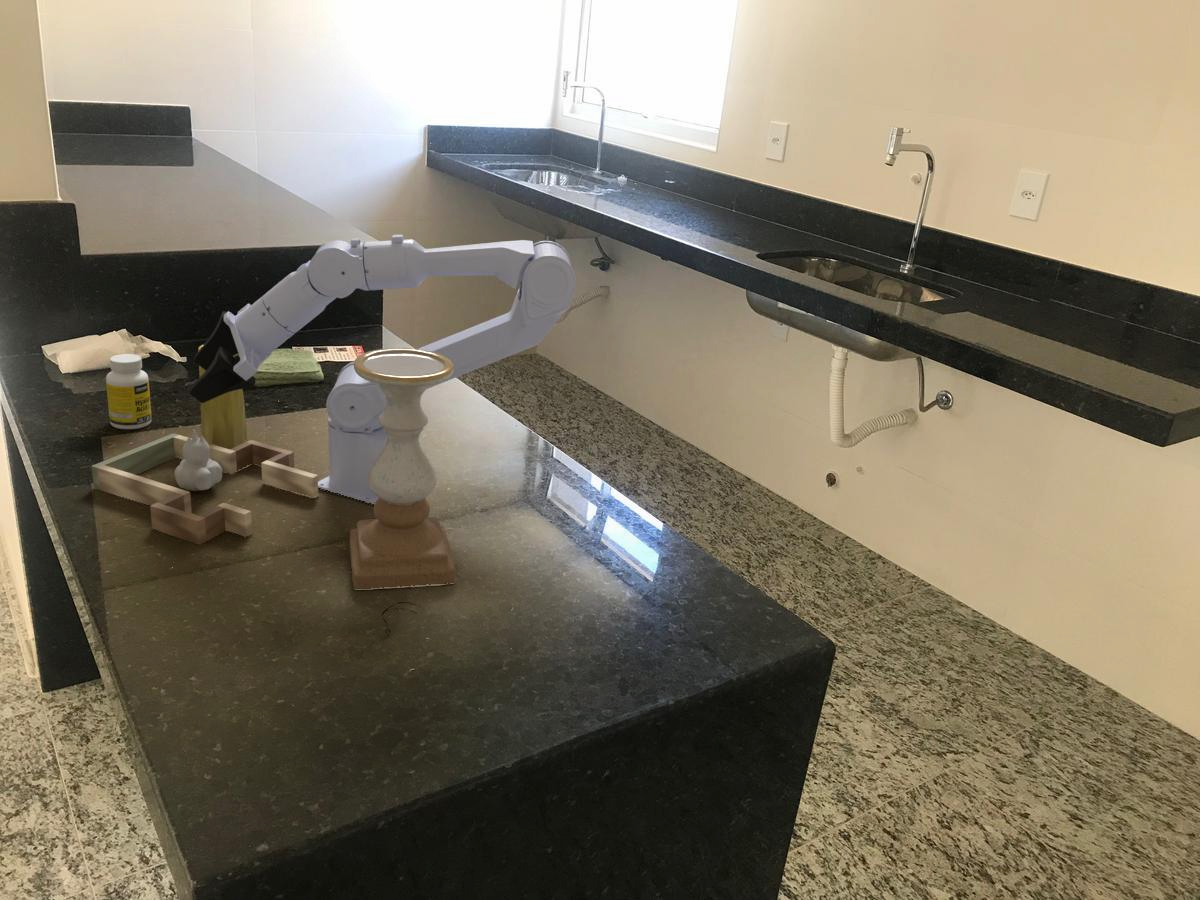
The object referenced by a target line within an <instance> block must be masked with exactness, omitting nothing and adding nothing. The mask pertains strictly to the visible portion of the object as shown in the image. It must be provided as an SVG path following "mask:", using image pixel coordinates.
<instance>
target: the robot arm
mask: <svg viewBox="0 0 1200 900" xmlns="http://www.w3.org/2000/svg"><path fill="white" fill-rule="evenodd" d="M390 239H391V240H375V241H373V240H372V241H361V239H360V237H358V238H357V237H356V238H351V239H350V242H349V243H348V241H345V240H344V241H343V240H340V239H339V240H338V239H336V240H331V241H328V242H326V243H324V242H323V243H321V245H320V246H319V247H318V249H317V251H316V252H315V254H314V255H313V257H312V258H311V260H310V259H309V260H308V261H307V262H306V263H302V264H301V265H300V266H299V267H298V268H297V269H296V270H295V271H292V272H291V273H289V274H288V275H286V276H285V277H284V278H282V280H280V281H278V282H277V284H275V285H274V286H273V287H272V288H271V289H269V290H268V291H267V292H266V293H265V294H263V295H262V296H261V297H260V298H258V299H257V300H256V301H254V302H253V304H250V303H247V304H246V305H245V306H244V307H242V308H241V309H240V310H238V311H237V314H236V315H234V314H233V313H232V312H230V311H224V310H223V311H222V312H221V313H220V317H219V319H218V322H217V324H216V326H215V328H214V330H213V331H212V333H211V335H210V336H209V337H208V339H206V341H205V343H204V345H203V344H202V345H203V346H202V348H201V349H200V350H199V352H198V351H197V353H196V354H195V355H194V358H193V362H194V363H195V364H197V365H198V367H199V366H201V367H202V368H203V369H204V370H206V372H205V373H204V374H203V375H202V376H201V377H200V376H199V378H198V379H197V380H196V381H195V382H194V383H193V384H192V386H191V387H190V389H189V393H188V394H189V395H191V396H192V397H193V398H195V399H196V400H197V401H198V402H201V403H204V402H207V401H209V400H211V399H214V398H216V397H218V396H220V395H223V394H225V393H228V392H231V391H234V390H239V389H252V388H253V387H255V386H254V385H255V379H256V378H255V377H254V376H253V375H254V374H255V373H257V372H258V368H259V366H260V365H261V364H262V363H263V362H264V361H265V360H266V359H267V358H268V357H269V356H270V355H271V353H272V351H274V350H275V349H278V347H280V346H282V344H284V343H286V341H288V339H290V338H292V337H293V336H294V335H295V334H296V333H298V332H299V331H300V330H301V329H303V328H304V327H305V326H306V325H308V323H310V322H311V321H313V320H314V319H315V318H316V317H317V316H319V315H320V314H321V313H323V312H324V311H325V309H326V307H327V306H328V305H329V304H330V303H332V302H333V301H334V300H336V299H337V298H338V299H343V298H347V297H349V296H350V295H352V293H354V292H355V290H357V289H359V290H363V291H380V290H382V291H383V290H397V289H412V288H413V289H414V288H419V286H421V285H422V283H423V282H424V281H425V280H426V279H427V278H428V277H461V276H462V277H464V276H465V277H466V276H467V277H468V276H472V277H473V276H474V277H475V276H477V277H478V276H493V277H496V278H497V279H498V280H500V281H501V282H502V283H505V284H506V285H507V286H508V287H510V288H512V289H514V290H517V292H516V295H515V298H514V301H513V303H512V306H511V308H510V311H508V312H506V313H504V314H501V315H499V316H497V317H493V318H491V319H489V320H486V321H484V322H481V323H479V324H476V325H474V326H472V327H469V328H467V329H464V330H462V331H459V332H456V333H454V334H451V335H449V336H446V337H443V338H441V339H440V340H436V341H434V342H431V343H429V344H426V345H424V346H422V347H419V348H418V349H420V350H426V351H431V352H435V353H438V354H441V355H443V356H445V357H447V358H448V359H449V360H450V361H451V362H452V363H453V367H454V370H453V373H452V375H451V376H450V377H449V378H448V379H447V380H445V381H443V382H440V383H437V384H433V385H429V386H428V388H427V389H426V390H428V389H431V388H433V387H435V386H438V385H440V384H443V383H445V382H448V381H450V380H454V379H456V378H458V377H460V376H463V375H466V374H469V373H471V372H473V371H476V370H478V369H480V368H483V367H485V366H488V365H490V364H494V363H496V362H498V361H501V360H503V359H506V358H509V357H510V356H513V355H516V354H519V353H522V352H523V351H526V350H528V349H531V348H534V347H536V346H537V345H539V344H541V343H542V342H543V340H544V339H545V337H546V336H547V335H548V333H549V332H550V331H551V329H552V328H553V327H554V326H555V324H556V323H557V322H558V320H559V319H560V317H561V316H562V315H563V314H564V313H566V311H568V310H569V309H570V307H571V305H572V301H573V297H574V293H575V289H576V285H577V280H576V273H575V270H574V269H573V267H572V261H571V257H570V255H569V253H568V251H567V250H566V249H565V248H564V246H562V245H561V244H559V243H558V242H555V241H553V240H541V241H538V242H533V240H526V239H520V240H508V241H503V240H502V241H496V242H495V241H494V242H486V243H474V244H466V245H465V244H464V245H454V246H444V247H435V248H433V247H432V248H425V247H423V246H422V245H421V244H420V243H418V241H416V240H414V239H412V238H408V239H407V238H406V239H404V235H403V234H393V235H392V236H391V238H390ZM518 281H519V288H518V289H517V286H518ZM238 353H239V356H238V355H237V356H235V357H234V355H236V354H238ZM201 403H200V404H201ZM325 403H326V404H325V405H326V407H325V408H326V413H327V415H328V419H327V423H328V427H327V428H328V475H327V477H324V478H323V479H321V480H318V487H319V488H322V489H325V490H328V491H331V492H330V493H332V492H334V493H333V494H335V493H339V494H341V495H340V496H342V495H344V496H343V497H345V496H347V497H346V498H349V497H352V498H354V499H353V500H356V499H357V500H356V501H359V500H361V501H360V502H362V501H365V502H364V503H366V502H367V503H366V504H369V503H371V504H370V505H373V504H375V502H376V501H377V500H378V499H379V498H378V497H377V496H376V495H375V494H374V493H373V492H372V491H371V489H370V487H369V484H368V475H369V471H370V469H371V467H372V465H373V463H374V461H375V460H376V459H377V457H378V456H379V455H380V453H381V452H382V450H383V449H384V447H385V445H386V442H387V435H386V432H385V431H384V430H383V426H381V425H380V424H379V421H378V418H379V416H380V414H381V413H382V412H383V411H384V409H385V407H386V404H387V399H386V395H385V393H384V391H383V390H382V389H381V388H380V386H379V384H377V383H373V382H370V381H367V380H365V379H363V378H361V377H360V376H359V375H358V374H357V373H356V372H355V370H354V361H351V362H349V363H348V364H345V366H343V367H342V368H341V369H340V371H339V373H338V375H337V379H336V382H335V384H334V386H333V388H332V389H331V391H330V392H329V394H328V396H327V400H326V402H325ZM322 489H321V490H322ZM325 490H324V491H325ZM328 491H327V492H328ZM339 494H338V495H339ZM352 498H351V499H352Z"/></svg>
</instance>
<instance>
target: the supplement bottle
mask: <svg viewBox="0 0 1200 900" xmlns="http://www.w3.org/2000/svg"><path fill="white" fill-rule="evenodd" d="M142 360H143V359H142V357H141V356H140V355H137V354H134V353H133V354H132V353H122V354H116V355H113V356H111V357H110V358H109V364H110V370H111V371H110V372H108V373H107V375H106V377H105V383H106V384H105V385H106V386H105V387H106V397H107V405H108V416H109V423H110V425H111V426H112V427H113V428H116V429H119V430H137V429H142V428H145V427H148V426H149V425H150V424H151V423H152V420H153V419H152V408H151V407H152V406H151V393H150V381H149V380H150V379H149V376H148V374H147V372H145V370H142V368H143V361H142Z"/></svg>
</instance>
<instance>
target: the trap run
mask: <svg viewBox="0 0 1200 900" xmlns="http://www.w3.org/2000/svg"><path fill="white" fill-rule="evenodd" d="M188 438H189V436H185V435H181V434H177V433H174V432H173V433H171V434H167V435H166V436H163V437H160V438H158V439H156V440H153V441H150V442H148V443H145V444H143V445H140V446H138V447H136V448H133V449H130V450H127V451H125V452H123V453H120V454H118V455H115V456H112V457H110V458H107V459H106V460H102V461H101V462H98V463H95V464H92V465H91V474H92V481H93V482H92V483H93V489H96V490H98V491H102V492H104V493H107V494H111V495H115V496H117V497H120V498H123V497H124V498H123V499H126V498H127V499H126V500H129V499H130V501H132V500H134V501H133V502H135V501H137V502H136V503H138V502H141V503H145V504H147V505H151V506H149V507H150V508H149V510H150V518H151V519H150V520H151V527H152V528H154V529H156V530H155V531H157V530H159V531H158V532H160V531H161V532H160V533H162V534H166V533H167V534H166V535H168V536H172V535H173V536H172V537H175V538H177V537H178V538H177V539H180V540H184V541H186V540H187V542H189V541H190V543H193V544H196V545H198V544H199V546H201V545H202V543H203V544H204V543H206V542H208V541H210V540H212V539H213V538H216V537H218V536H219V535H221V534H223V533H224V532H223V531H225V530H226V531H225V532H227V531H230V532H233V533H236V534H239V535H243V536H248V535H250V534H251V533H252V534H253V525H252V524H253V523H252V521H253V519H252V510H248V509H245V508H242V507H239V506H236V505H232V504H230V503H226V502H221V503H220V504H218V505H216V506H214V507H212V508H211V509H210V508H209V509H208V510H206V511H204V512H203V513H201V514H199V515H198V514H194V513H192V499H191V491H189V490H186V489H183V488H179V487H175V486H172V485H169V484H166V483H163V482H159V481H157V480H153V479H150V478H146V477H144V476H140V475H139V474H141V473H143V471H144V472H145V470H146V471H148V470H150V469H152V467H153V468H155V467H157V466H159V464H160V465H161V463H162V464H165V463H167V462H169V461H171V460H173V458H174V459H177V458H179V459H178V460H180V459H181V461H182V460H184V457H183V446H184V444H185V443H186V441H187V439H188ZM190 439H192V437H190ZM208 445H209V447H210V457H209V458H210V459H211V460H213V461H216V462H217V463H218V464H219V465H220V467H221V468H222V471H223V472H222V473H224V472H227V473H231V474H232V473H234V472H235V471H238V470H239V469H242V468H243V467H246V466H247V465H250V464H257V465H260V466H261V467H260V468H261V482H263V483H267V484H270V485H273V486H276V487H279V488H284V489H287V490H289V491H293V492H297V493H300V494H304V495H308V496H311V497H314V496H315V495H317V494H318V495H319V489H318V482H319V475H318V474H316V473H312V472H308V471H305V470H301V469H298V468H295V458H294V457H295V456H294V455H295V453H294V451H291V450H288V449H284V448H281V447H278V446H274V445H271V444H267V443H263V442H260V441H257V440H254V439H250V440H248V442H245V443H243V444H241V445H239V446H236V447H234V448H232V449H226V448H223V447H219V446H216V445H212V444H209V443H208ZM168 460H169V461H168ZM166 461H167V462H166ZM156 465H157V466H156ZM154 466H155V467H154ZM149 468H150V469H149ZM147 469H148V470H147ZM140 472H141V473H140ZM138 473H139V474H138ZM227 473H226V474H227ZM136 474H137V475H136ZM234 474H235V473H234ZM232 475H233V474H232ZM141 503H140V504H141ZM147 505H146V506H147ZM191 513H192V514H191ZM152 528H151V529H152ZM154 529H153V530H154ZM222 532H223V533H222ZM230 532H229V533H230ZM220 533H221V534H220ZM233 533H232V534H233ZM236 534H235V535H236ZM239 535H238V536H239ZM215 536H216V537H215ZM250 536H251V535H250ZM248 537H249V536H248Z"/></svg>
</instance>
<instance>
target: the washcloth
mask: <svg viewBox="0 0 1200 900" xmlns="http://www.w3.org/2000/svg"><path fill="white" fill-rule="evenodd" d="M253 376H254V377H255V378H256V379H255V385H254V386H253V387H267V386H275V385H276V386H278V385H288V384H299V383H300V384H301V383H317V382H318V383H319V382H320V383H321V381H323V380H324V379H325V378H324V373H323V370H322V366H321V365H320V363H319V362H318V360H317V358H316V357H315V355H314V351H311V350H308V349H303V348H302V349H301V348H300V349H299V348H298V349H297V348H295V349H294V348H276V349H275V350H274V351H272V353H271V355H270V356H269V357H268V358H267V359H266V360H265V361H264V362H263V363H262V364H261V365H260V366H259V368H258V372H257V373H255V374H254V375H253Z"/></svg>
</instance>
